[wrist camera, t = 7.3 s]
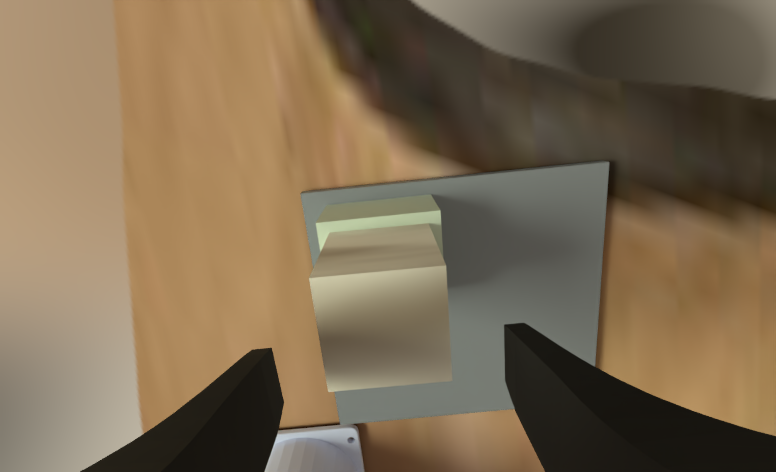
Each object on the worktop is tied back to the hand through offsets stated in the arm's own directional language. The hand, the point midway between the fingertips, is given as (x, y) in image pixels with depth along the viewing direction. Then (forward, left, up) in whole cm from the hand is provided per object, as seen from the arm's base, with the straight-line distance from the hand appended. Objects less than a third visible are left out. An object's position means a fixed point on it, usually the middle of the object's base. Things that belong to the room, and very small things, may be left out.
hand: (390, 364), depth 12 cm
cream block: (0, 0, -6) cm, 6 cm away
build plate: (-4, -4, -10) cm, 12 cm away
